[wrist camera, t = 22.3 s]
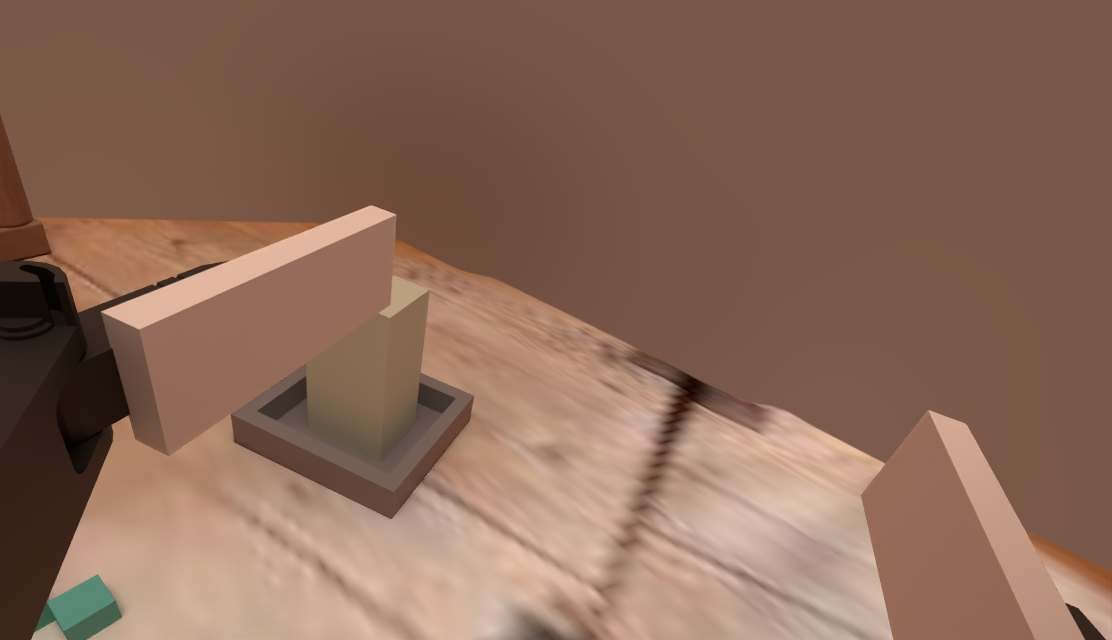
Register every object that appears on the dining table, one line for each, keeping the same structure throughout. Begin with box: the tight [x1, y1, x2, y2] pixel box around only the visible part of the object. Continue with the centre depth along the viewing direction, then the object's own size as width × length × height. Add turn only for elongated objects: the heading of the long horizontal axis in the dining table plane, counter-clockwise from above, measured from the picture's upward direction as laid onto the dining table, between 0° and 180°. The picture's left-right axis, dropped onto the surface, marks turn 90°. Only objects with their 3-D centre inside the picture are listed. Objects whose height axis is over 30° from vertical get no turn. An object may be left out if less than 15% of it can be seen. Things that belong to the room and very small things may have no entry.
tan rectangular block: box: [306, 275, 430, 462], centre depth 41 cm, size 7×5×14 cm
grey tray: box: [231, 363, 474, 519], centre depth 44 cm, size 14×12×3 cm
